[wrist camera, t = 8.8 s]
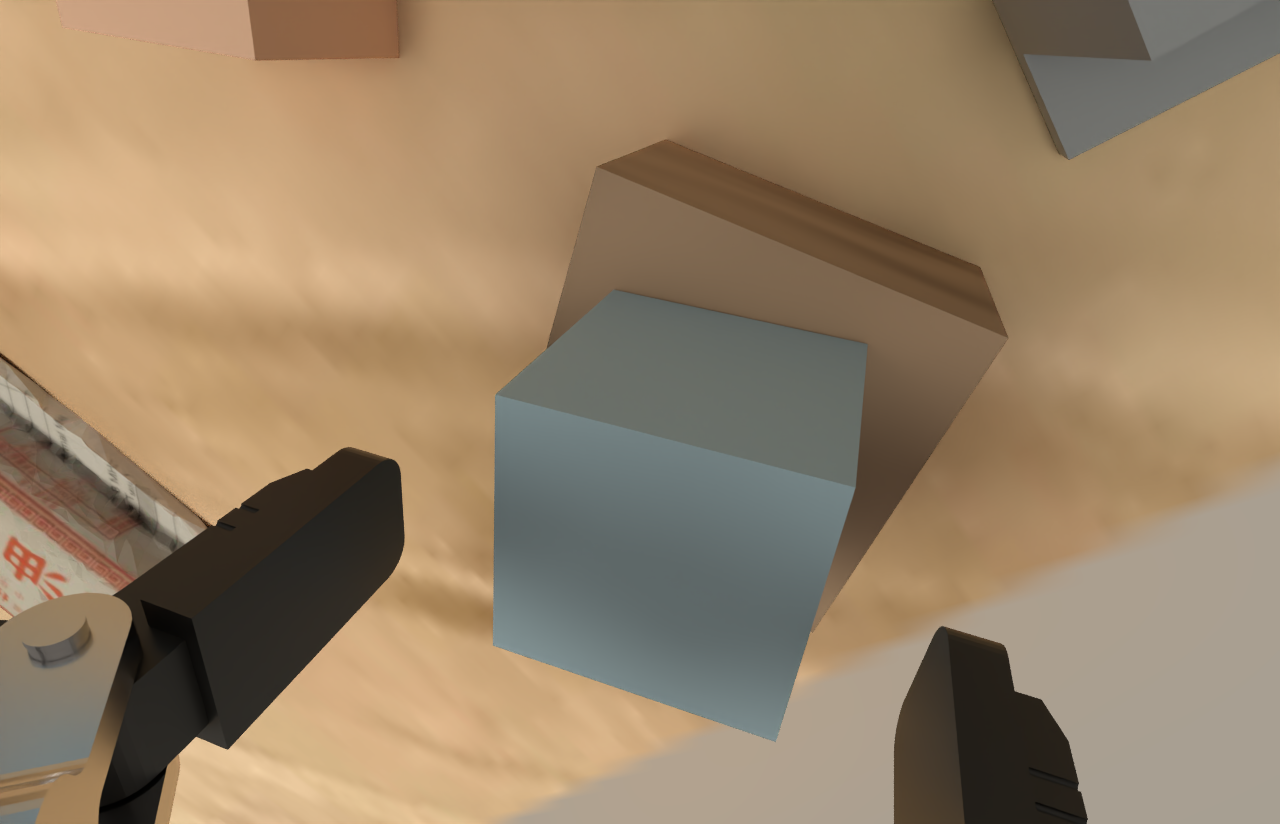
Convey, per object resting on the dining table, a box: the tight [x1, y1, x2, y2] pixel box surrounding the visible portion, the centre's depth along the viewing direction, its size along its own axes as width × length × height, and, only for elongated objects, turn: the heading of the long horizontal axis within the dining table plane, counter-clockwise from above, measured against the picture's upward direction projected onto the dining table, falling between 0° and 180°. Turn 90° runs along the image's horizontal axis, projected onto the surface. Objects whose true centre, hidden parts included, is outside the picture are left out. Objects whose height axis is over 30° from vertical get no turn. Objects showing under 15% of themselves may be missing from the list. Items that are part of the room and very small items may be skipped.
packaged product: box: [0, 357, 208, 617], centre depth 30 cm, size 18×5×10 cm
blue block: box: [493, 290, 868, 742], centre depth 13 cm, size 5×5×5 cm
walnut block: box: [547, 140, 1008, 633], centre depth 17 cm, size 8×8×5 cm
